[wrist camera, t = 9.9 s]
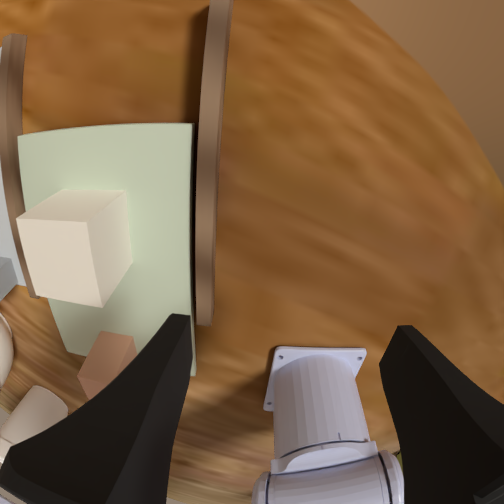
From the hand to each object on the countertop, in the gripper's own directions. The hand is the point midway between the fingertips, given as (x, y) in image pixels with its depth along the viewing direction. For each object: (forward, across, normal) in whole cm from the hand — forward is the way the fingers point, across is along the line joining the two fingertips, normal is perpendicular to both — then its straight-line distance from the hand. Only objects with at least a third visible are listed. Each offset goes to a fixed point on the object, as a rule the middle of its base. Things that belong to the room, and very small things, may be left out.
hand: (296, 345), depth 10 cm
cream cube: (+9, +12, +1) cm, 15 cm away
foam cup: (+10, +28, +28) cm, 41 cm away
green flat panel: (+10, +12, +4) cm, 16 cm away
